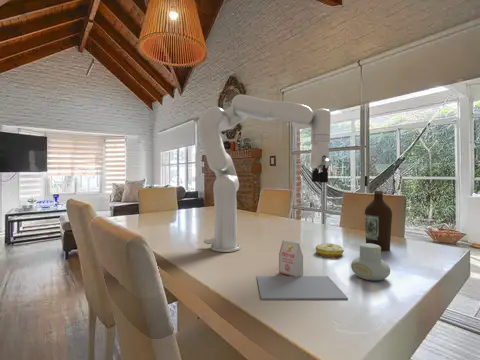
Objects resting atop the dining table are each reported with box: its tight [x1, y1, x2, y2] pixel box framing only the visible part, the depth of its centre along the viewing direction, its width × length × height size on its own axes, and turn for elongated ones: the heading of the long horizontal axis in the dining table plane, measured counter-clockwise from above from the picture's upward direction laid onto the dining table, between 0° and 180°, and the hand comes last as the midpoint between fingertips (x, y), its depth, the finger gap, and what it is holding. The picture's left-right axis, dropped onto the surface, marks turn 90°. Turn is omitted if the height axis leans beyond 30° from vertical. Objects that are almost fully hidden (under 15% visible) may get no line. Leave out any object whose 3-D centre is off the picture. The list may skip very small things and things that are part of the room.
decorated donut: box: [315, 242, 345, 258], centre depth 109 cm, size 10×11×4 cm
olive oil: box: [364, 190, 393, 252], centre depth 118 cm, size 11×11×25 cm
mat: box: [256, 275, 349, 301], centre depth 76 cm, size 22×15×1 cm
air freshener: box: [350, 242, 391, 282], centre depth 84 cm, size 11×8×10 cm
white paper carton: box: [278, 240, 304, 277], centre depth 87 cm, size 4×7×10 cm, turn 38°
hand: (319, 182), depth 112 cm, fingers open, 9 cm apart
